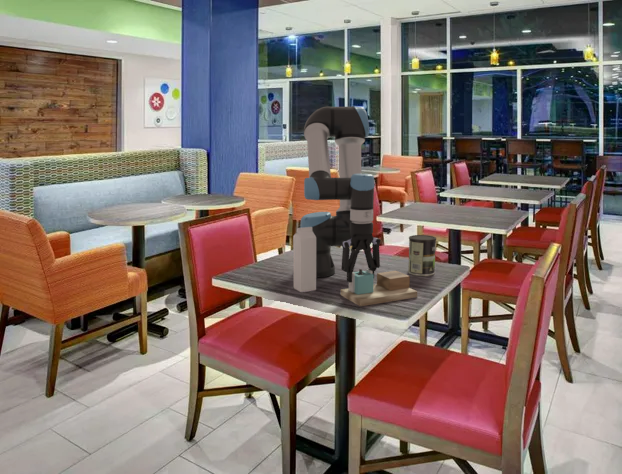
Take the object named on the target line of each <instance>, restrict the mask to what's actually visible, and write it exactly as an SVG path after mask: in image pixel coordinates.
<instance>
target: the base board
mask: <svg viewBox="0 0 622 474" xmlns="http://www.w3.org/2000/svg"><path fill="white" fill-rule="evenodd" d="M358 271H359V273H358V275H363V273H362V271H363V269H362V268H359V269H358ZM340 296H341V297H343V298H345V299H347V300H348V301H350V302H352V303H354V304H355V305H356V306H359V307H364V306H365V307H367V306H371V305H372V306H373V305H377V304H383V303H389V302H390V303H391V302H395V301H401V300H408V299H413V298H418V290H415V289H412V288H410V287H409V288H403V289H397V290H387V289H385V288H383V287H381V286H379V285H377V283H375V284H374V287H373V292H372V293H365V294H356V293H354V292H351V291H349V287H348V288H343V289H340Z"/></svg>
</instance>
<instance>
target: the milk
mask: <svg viewBox="0 0 622 474" xmlns="http://www.w3.org/2000/svg"><path fill="white" fill-rule="evenodd" d="M292 245H293V247H292V248H293V253H292V254H293V258H292V259H293V261H292V262H293V268H292V269H293V289H294V290H296V291H297V292H300V293H306V292H312V291H317V277H316V236H315V234H314V233H313V231H312V227H304V228H300V227H297V228H296V233H294V235H293V239H292Z"/></svg>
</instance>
